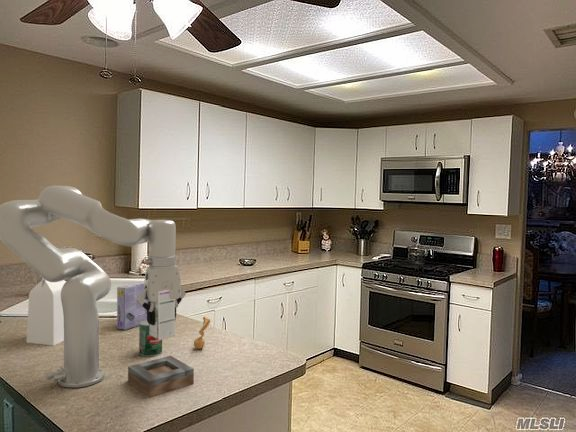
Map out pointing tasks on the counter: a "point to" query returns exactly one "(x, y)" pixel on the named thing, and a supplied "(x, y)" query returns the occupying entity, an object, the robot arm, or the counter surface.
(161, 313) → the syrup box
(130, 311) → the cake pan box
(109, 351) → the counter surface
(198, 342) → the figurine
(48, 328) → the milk
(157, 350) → the canned tomato
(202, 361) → the counter surface
